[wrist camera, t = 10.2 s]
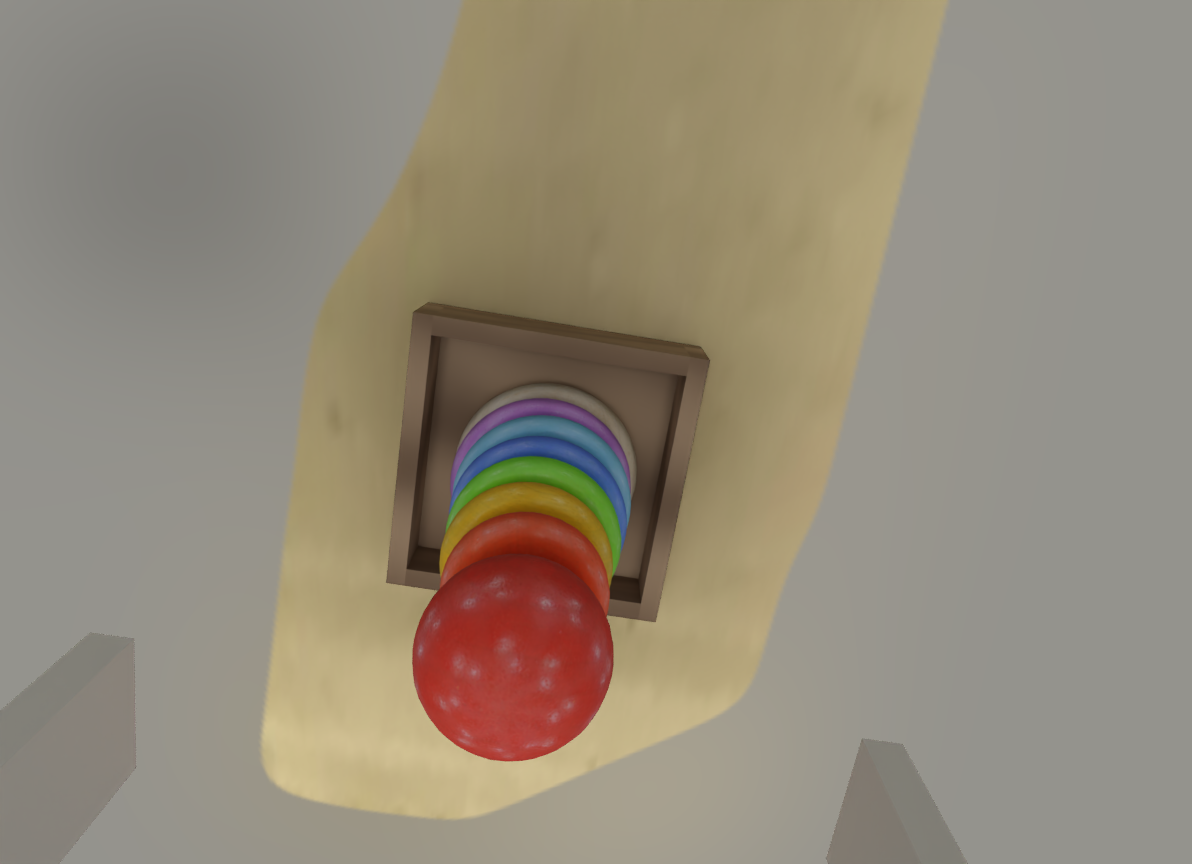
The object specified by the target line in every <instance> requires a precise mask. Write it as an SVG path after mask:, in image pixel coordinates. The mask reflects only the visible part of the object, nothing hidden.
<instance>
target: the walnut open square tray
mask: <svg viewBox="0 0 1192 864" xmlns="http://www.w3.org/2000/svg"><path fill="white" fill-rule="evenodd" d="M709 363H710V360H709V358H708V357H707V355H706V354H705V352H704V351H703V350H702V348H701V347H699V346H692V345H686V344H680V343H674V342H668V341H662V340H656V339H649V338H643V337H637V336H631V335H625V334H619V333H613V332H607V331H600V330H594V329H588V328H582V327H576V326H570V325H564V324H557V323H551V322H545V321H539V320H533V319H527V318H521V317H515V316H508V315H502V314H496V313H490V312H484V311H478V310H472V309H465V308H459V307H453V306H447V305H441V304H435V303H429V302H428V303H427V304H425V305H424V306H422V307H420V308H419V309H417V310H416V311H414V312H413V319H412V329H411V339H410V349H409V359H408V369H407V379H406V389H405V400H404V410H403V420H402V430H401V440H400V450H399V460H398V470H397V480H396V490H395V500H394V510H393V520H392V530H391V540H390V550H389V560H388V570H387V580H386V583H391V584H397V585H404V586H411V587H418V588H425V589H432V590H439V589H440V582H441V576H440V565H439V561H440V551H441V546H442V542H443V539H444V536H445V533H446V525H447V521H448V517H449V508H450V502H451V492H450V477H451V470H452V466H453V462H454V459H455V456H456V451H457V447H458V444H459V441H460V438H461V436H462V434H463V432H464V430H465V428H466V426H467V425H468V423H469V422H470V420H471V419H472V417H473V416H474V415H475V414H476V413H477V411H478V410H480V409H481V408H482V407H483V406H484V405H485V404H486V403H487V402H489V401H490V400H492V399H493V398H495V397H496V396H498V395H500V394H502V393H504V392H506V391H508V390H511V389H513V388H516V387H520V386H524V385H529V384H537V383H554V384H561V385H566V386H570V387H573V388H577V389H579V390H582V391H584V392H586V393H588V394H590V395H592V396H594V397H595V398H597V399H598V400H600V401H601V402H603V403H604V404H605V405H606V406H607V407H608V408H610V409H611V410H612V412H613V413H614V414H615V415H616V416H617V417H618V418H619V420H620V421H621V422H622V424H623V425H624V427H625V429H626V430H627V432H628V434H629V436H630V438H631V441H632V444H633V447H634V451H635V455H636V462H637V478H636V485H635V490H634V494H633V497H632V500H631V510H630V517H629V522H628V526H627V530H626V536H625V541H624V544H623V548H622V550H621V553H620V558H619V561H618V565H617V567H616V570H615V573H614V575H613V577H612V580H611V584H610V588H609V589H610V599H609V608H608V613H607V615H610V616H616V617H623V618H630V619H637V620H644V621H651V622H656V618H657V613H658V608H659V604H660V599H661V594H662V589H663V584H664V580H665V575H666V570H667V565H668V560H669V555H670V551H671V546H672V541H673V536H674V531H675V526H676V522H677V517H678V512H679V507H680V502H681V498H682V493H683V488H684V483H685V478H686V473H687V469H688V464H689V459H690V454H691V449H692V445H693V440H694V435H695V430H696V425H697V420H698V416H699V411H700V406H701V401H702V396H703V392H704V387H705V382H706V377H707V372H708V367H709Z"/></svg>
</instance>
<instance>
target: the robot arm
mask: <svg viewBox="0 0 1192 864" xmlns="http://www.w3.org/2000/svg"><path fill="white" fill-rule="evenodd" d="M134 671H135V664H134V639H133V638H126V637H119V636H112V635H104V634H97V633H89V634H88V635H87V636H86V637H84V638H83V639H82V640H81V641H80V642H79V643H77V644H76V645H75V646H74V647H73V648H72V649H71V650H70V651H68V652H67V653H66V654H65V655H64V656H63V657H62V658H60V659H59V660H58V661H57V662H56V663H54V664H53V665H52V666H51V667H50V668H49V669H48V670H46V671H45V672H44V673H43V674H42V675H41V676H40V677H38V678H37V679H36V680H35V681H34V682H33V683H31V684H30V685H29V686H28V687H27V688H26V689H25V690H24V691H22V692H21V693H20V694H19V695H18V696H17V697H15V698H14V699H13V700H12V701H11V702H10V703H9V704H7V705H6V706H5V707H4V708H3V709H2V710H0V864H59V863H60V862H61V861H62V859H63V858H64V857H65V856H66V854H67V853H68V852H69V851H70V849H71V848H72V847H73V846H74V844H75V843H76V842H77V841H78V840H79V838H80V837H81V836H82V835H83V833H84V832H85V831H86V830H87V828H88V827H89V826H90V825H91V823H92V822H93V821H94V819H95V818H96V817H97V816H98V815H99V813H100V812H101V811H102V810H103V808H104V807H105V806H106V805H107V803H108V802H109V801H110V799H111V798H112V797H113V796H114V795H115V793H116V792H117V791H118V790H119V788H120V787H121V786H122V785H123V783H124V782H125V781H126V780H127V778H128V777H129V776H130V775H131V773H132V772H133V771H134V769H135V768H136V736H135V735H136V734H135V672H134ZM826 859H827V862H828V864H968V863H967V861H966V859H965V858H964V856H963V854H962V852H961V850H960V848H959V846H958V845H957V843H956V841H955V839H954V837H953V836H952V834H951V832H950V830H949V828H948V826H947V824H946V823H945V821H944V819H943V817H942V815H941V814H940V811H939V810H938V808H937V806H936V804H935V802H934V800H933V799H932V797H931V795H930V793H929V791H928V789H927V788H926V786H925V784H924V782H923V781H922V778H921V777H920V775H919V773H918V771H917V769H916V767H915V765H914V764H913V762H912V760H911V758H910V756H909V754H908V753H907V751H906V749H905V747H904V745H903V744H899V743H892V742H884V741H877V740H869V739H862V740H861V743H860V747H859V750H858V754H857V757H856V760H855V764H854V767H853V770H852V774H851V777H850V780H849V784H848V787H847V790H846V794H845V797H844V800H843V804H842V807H841V811H840V814H839V818H838V820H837V824H836V827H835V830H834V834H833V837H832V841H831V844H830V848H829V851H828V854H827V857H826Z"/></svg>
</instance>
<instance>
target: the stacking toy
mask: <svg viewBox="0 0 1192 864" xmlns="http://www.w3.org/2000/svg"><path fill="white" fill-rule="evenodd" d="M636 478H637V462H636V455H635V451H634V447H633V444H632V441H631V438H630V436H629V434H628V432H627V430H626V429H625V427H624V425H623V424H622V422H621V421H620V420H619V418H618V417H617V416H616V415H615V414H614V413H613V412H612V410H611V409H610V408H608V407H607V406H606V405H605V404H604V403H603V402H601V401H600V400H598V399H597V398H595V397H594V396H592V395H590V394H588V393H586V392H584V391H582V390H579V389H577V388H573V387H570V386H566V385H561V384H554V383H537V384H529V385H524V386H520V387H516V388H513V389H511V390H508V391H506V392H504V393H502V394H500V395H498V396H496V397H495V398H493V399H492V400H490V401H489V402H487V403H486V404H485V405H484V406H483V407H482V408H481V409H480V410H478V411H477V413H476V414H475V415H474V416H473V417H472V419H471V420H470V422H469V423H468V425H467V426H466V428H465V430H464V432H463V434H462V436H461V438H460V441H459V444H458V447H457V451H456V456H455V459H454V462H453V466H452V470H451V477H450V492H451V502H450V508H449V517H448V521H447V525H446V533H445V536H444V539H443V542H442V546H441V551H440V561H439V565H440V576H441V582H440V589H439V590H438V591H437V593H436V594H435V595H434V596H433V598H432V600H431V601H430V603H429V604H428V606H427V608H426V609H425V611H424V613H423V615H422V617H421V619H420V622H419V625H418V628H417V631H416V634H415V639H414V644H413V662H412V664H413V676H414V684H415V687H416V690H417V694H418V697H419V699H420V701H421V703H422V705H423V707H424V709H425V711H426V713H427V715H428V717H429V718H430V719H431V721H432V722H433V723H434V725H435V726H436V727H437V728H438V730H439V731H440V732H441V733H442V734H443V735H445V736H446V737H447V738H448V739H449V740H451V741H452V742H453V743H454V744H456V745H457V746H459V747H461V748H463V749H464V750H466V751H468V752H470V753H472V754H475V755H477V756H481V757H484V758H487V759H490V760H498V761H523V760H529V759H534V758H537V757H540V756H543V755H546V754H549V753H551V752H553V751H556V750H558V749H559V748H561V747H562V746H564V745H565V744H567V743H569V742H570V741H571V740H573V739H574V738H575V737H577V736H578V735H579V734H580V733H581V732H582V731H583V730H584V729H585V728H586V727H587V725H588V724H589V723H590V722H591V720H592V719H593V717H594V716H595V714H596V713H597V711H598V710H599V708H600V706H601V704H602V702H603V700H604V698H605V695H606V693H607V690H608V688H609V684H610V680H611V677H612V671H613V641H612V637H611V631H610V625H609V623H608V620H607V618H606V617H607V613H608V608H609V599H610V589H609V588H610V584H611V580H612V577H613V575H614V573H615V570H616V567H617V565H618V561H619V558H620V553H621V550H622V548H623V544H624V541H625V536H626V530H627V526H628V522H629V517H630V510H631V500H632V497H633V494H634V490H635V485H636Z"/></svg>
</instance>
